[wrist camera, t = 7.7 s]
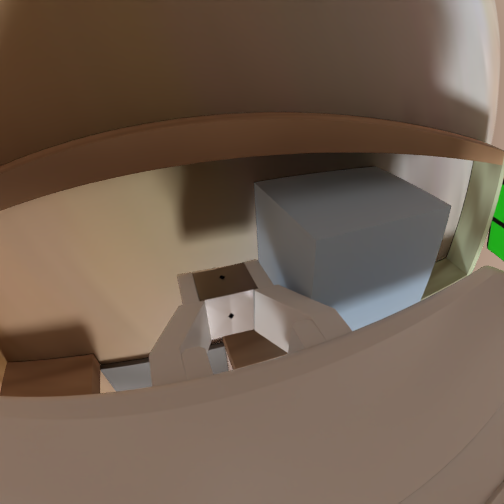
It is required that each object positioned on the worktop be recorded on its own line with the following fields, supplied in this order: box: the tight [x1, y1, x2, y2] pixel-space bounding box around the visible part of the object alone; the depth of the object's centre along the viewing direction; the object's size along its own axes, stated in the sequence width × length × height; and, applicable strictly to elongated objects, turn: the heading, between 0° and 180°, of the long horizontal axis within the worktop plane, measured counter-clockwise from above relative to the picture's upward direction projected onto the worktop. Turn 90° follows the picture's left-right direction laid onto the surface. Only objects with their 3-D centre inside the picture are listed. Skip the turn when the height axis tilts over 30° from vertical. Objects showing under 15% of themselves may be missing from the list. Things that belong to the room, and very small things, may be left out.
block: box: [254, 167, 451, 331], centre depth 11 cm, size 6×6×4 cm
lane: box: [0, 112, 504, 397], centre depth 12 cm, size 14×33×2 cm, turn 91°
